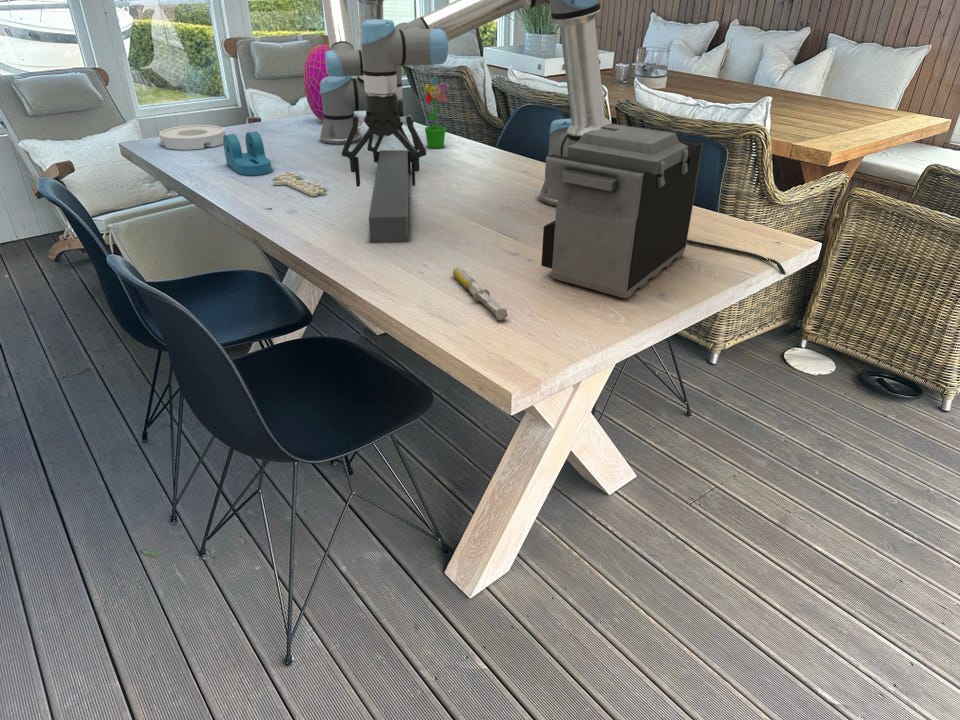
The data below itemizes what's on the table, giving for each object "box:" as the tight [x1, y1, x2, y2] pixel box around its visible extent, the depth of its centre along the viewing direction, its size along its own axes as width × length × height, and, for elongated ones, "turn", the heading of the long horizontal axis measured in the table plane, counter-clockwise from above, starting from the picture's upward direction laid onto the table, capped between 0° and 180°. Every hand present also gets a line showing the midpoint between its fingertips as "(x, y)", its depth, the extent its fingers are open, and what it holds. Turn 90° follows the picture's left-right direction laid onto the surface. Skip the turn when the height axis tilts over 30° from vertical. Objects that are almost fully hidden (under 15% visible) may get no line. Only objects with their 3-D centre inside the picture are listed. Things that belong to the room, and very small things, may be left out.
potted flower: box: [424, 75, 451, 149], centre depth 252 cm, size 9×8×25 cm
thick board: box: [368, 149, 410, 243], centre depth 200 cm, size 67×9×6 cm, turn 5°
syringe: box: [452, 266, 509, 321], centre depth 145 cm, size 25×4×3 cm, turn 21°
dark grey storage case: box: [540, 123, 704, 299], centre depth 153 cm, size 37×22×30 cm, turn 144°
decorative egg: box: [303, 44, 330, 122], centre depth 287 cm, size 19×19×30 cm
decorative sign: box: [273, 171, 326, 197], centre depth 212 cm, size 26×1×10 cm
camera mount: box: [222, 131, 272, 176], centre depth 226 cm, size 18×10×10 cm, turn 35°
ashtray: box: [158, 124, 226, 151], centre depth 259 cm, size 23×23×4 cm
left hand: (394, 172), depth 226 cm, fingers closed on thick board, 9 cm apart
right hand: (386, 184), depth 170 cm, fingers open, 13 cm apart
